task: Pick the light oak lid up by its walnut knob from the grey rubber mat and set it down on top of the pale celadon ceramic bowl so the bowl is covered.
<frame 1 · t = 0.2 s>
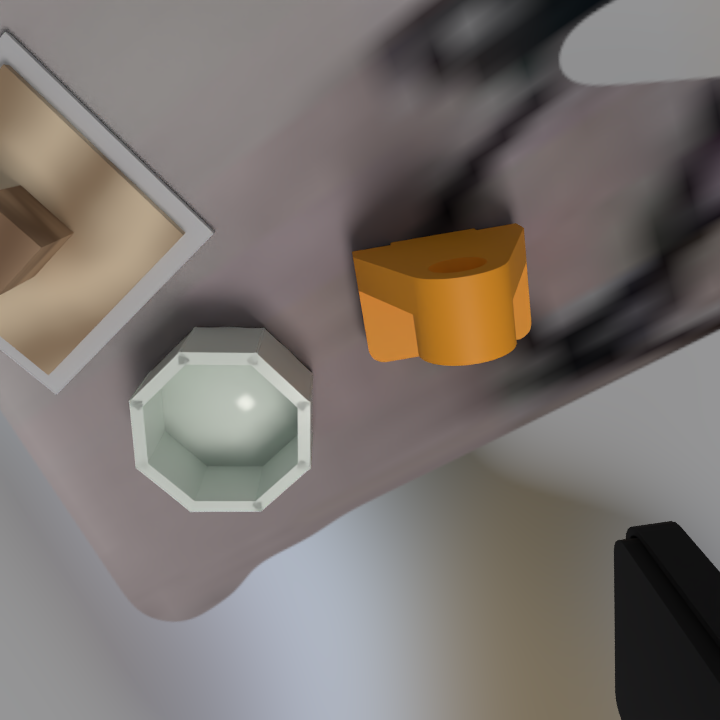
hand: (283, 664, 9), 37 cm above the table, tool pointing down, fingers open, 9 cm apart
mat: (36, 228, 43), on the table
bowl: (233, 401, 47), on the table
bracket: (438, 287, 45), on the table
lid: (33, 230, 42), point 1 cm above the table, touching mat
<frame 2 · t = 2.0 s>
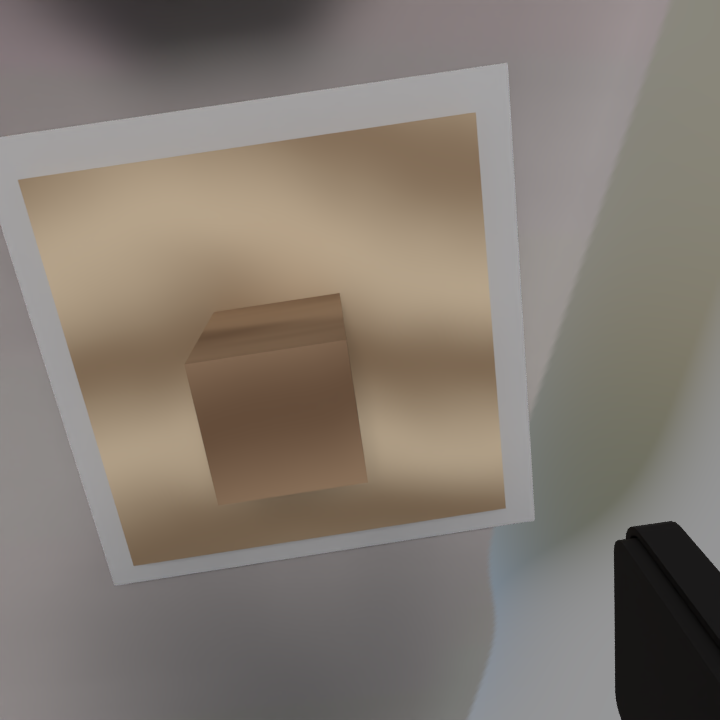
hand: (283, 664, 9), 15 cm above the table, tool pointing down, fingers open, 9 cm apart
mat: (289, 348, 23), on the table
lid: (288, 353, 22), point 1 cm above the table, touching mat
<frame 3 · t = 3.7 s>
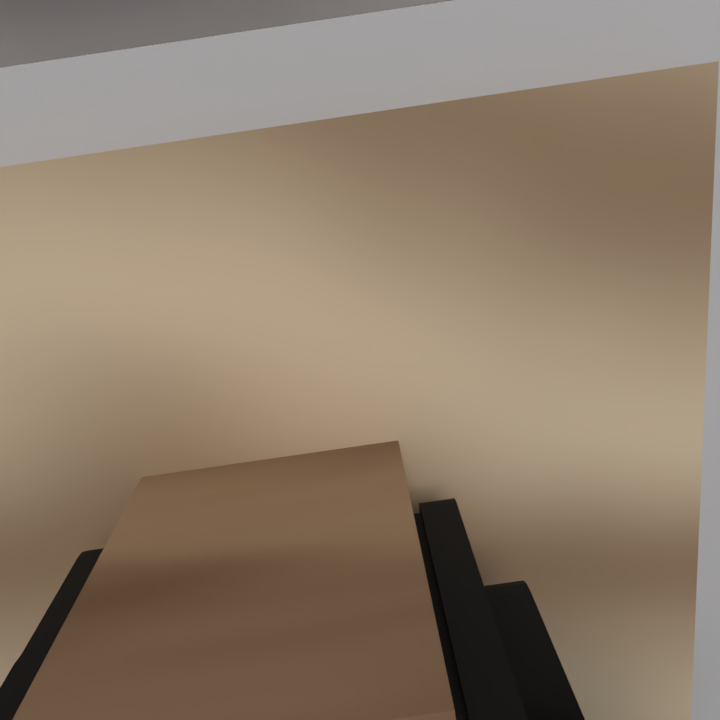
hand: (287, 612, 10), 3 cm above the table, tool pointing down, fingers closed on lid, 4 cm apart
mat: (295, 518, 12), on the table
lid: (294, 537, 12), point 1 cm above the table, touching gripper, mat
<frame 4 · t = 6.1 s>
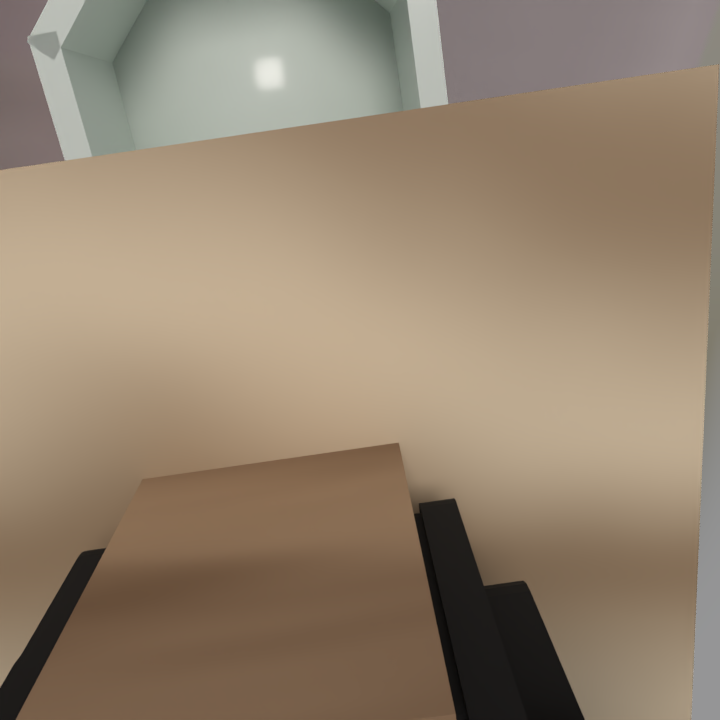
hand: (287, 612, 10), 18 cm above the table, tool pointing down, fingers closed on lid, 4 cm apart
bowl: (265, 100, 24), on the table
lid: (295, 539, 12), point 16 cm above the table, touching gripper
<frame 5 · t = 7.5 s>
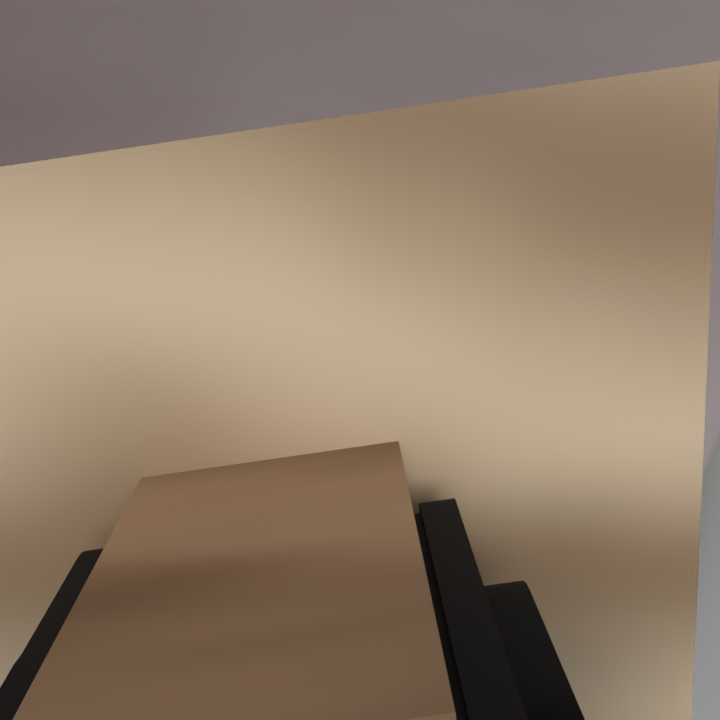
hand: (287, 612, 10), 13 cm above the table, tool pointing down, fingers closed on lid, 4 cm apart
lid: (294, 537, 12), point 11 cm above the table, touching gripper
when the fingers open (9 cm above the table, at t = 8.5 s): lid drops 2 cm, resting on bowl.
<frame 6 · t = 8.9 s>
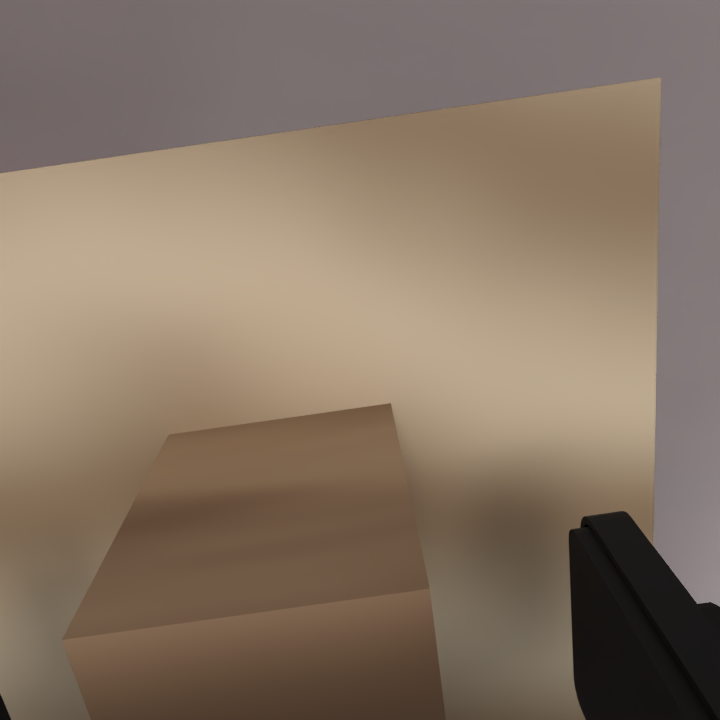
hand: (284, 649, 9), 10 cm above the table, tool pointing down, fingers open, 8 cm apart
lid: (300, 492, 13), point 5 cm above the table, touching bowl
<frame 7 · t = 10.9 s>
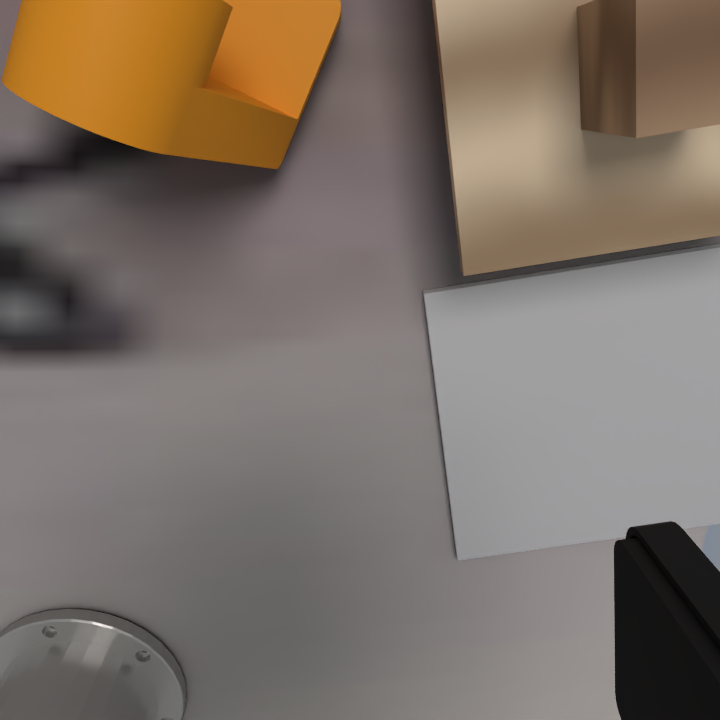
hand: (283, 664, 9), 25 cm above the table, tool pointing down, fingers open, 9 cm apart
mat: (590, 410, 35), on the table
bracket: (199, 27, 28), on the table
lid: (627, 61, 24), point 5 cm above the table, touching bowl
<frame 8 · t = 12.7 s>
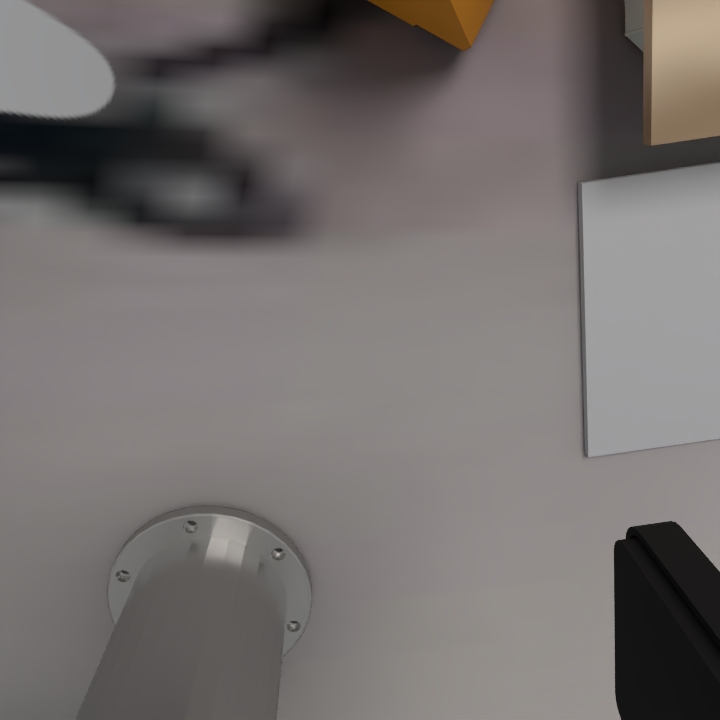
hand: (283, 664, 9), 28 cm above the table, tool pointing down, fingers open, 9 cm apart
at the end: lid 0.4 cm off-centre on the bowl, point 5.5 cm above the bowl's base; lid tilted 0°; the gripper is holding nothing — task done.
